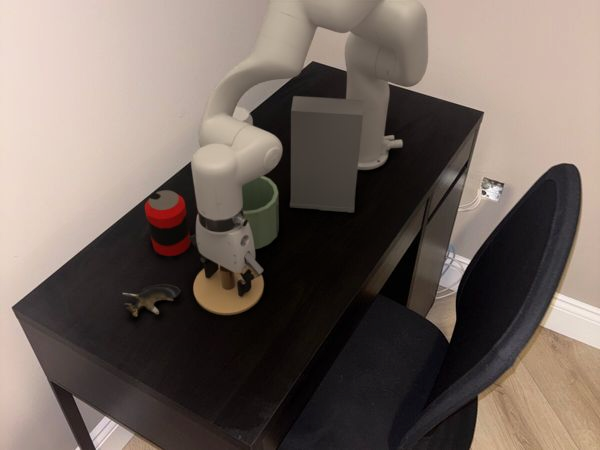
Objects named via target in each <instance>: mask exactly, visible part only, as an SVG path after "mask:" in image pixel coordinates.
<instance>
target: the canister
mask: <svg viewBox="0 0 600 450" xmlns="http://www.w3.org/2000/svg"><path fill="white" fill-rule="evenodd" d="M242 198H243V212H244V217H245V218H246V219H247V220H248V223H249V225H250V228H251V232H252V235H253V240H254V247H255V250H258V249H262V248H263V247H266V246H268V245H270V244H271V243H272V242H273V241H274V240H275V239H276V238H277V237H278V234H279V230H280V213H279V212H280V210H279V209H280V208H279V205H280V204H279V190H278V187H277V184H275V182H274V181H273V180H272V179H271V178H269V177H267V176H265V175H263V176H261V177H259V178H257V179H255V180H253V181H251V182H248V183H246V184H244V185H243V186H242Z"/></svg>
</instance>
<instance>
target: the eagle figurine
mask: <svg viewBox="0 0 600 450" xmlns="http://www.w3.org/2000/svg"><path fill="white" fill-rule="evenodd" d="M181 292H182V290H181V289H180V288H179V287H177V286H175V285H172V284H165V283H164V284H155V285H151V286H148V287H145V288H143V289H142V290H141V291H140V292H139V294H138V293H127V292H122V295H123V296H127V297H129V298H132V299H134V300H135V301H136V303H135V304H134V305H133V304H132V303H128V302H125V303H124V304H123V305H124V306H126V310H128V311H129V312H130V313H131V315H132V317H135V318H138V316H139V313H140V312H141V310H142V309H143V308H145V309H146V310H147V311H150V312H151V313H154V314H155V315H160V311H159V309H158V308H157V307H156V306H155V303H157V302H158V301H169V302H170V301H171V302H173V301H174V298H177V297H179V295H180V294H181Z"/></svg>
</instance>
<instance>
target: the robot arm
mask: <svg viewBox="0 0 600 450" xmlns="http://www.w3.org/2000/svg"><path fill="white" fill-rule="evenodd" d="M427 14H428V13H427V10H426V8H425V6H424V5H423V4H422V2H420V1H419V0H268V3H267V6H266V8H265V11H264V14H263V18H262V19H261V20H262V21H261V23H260V25H259V29H258V31H257V35H256V37H255V41H254V44H253V47H252V50H251V51H250V53H249V54H248V56H247V57H246V58H244V59H243V60H242V61H240V62H239V63H238V64H236V65H235V66H233V67H232V68H231V69H230V70H228V72H227V73H225V75H223V76H222V78H220V80H219V81H218V82H217V83H216V84H215V86H214V87H213V89H212V90H211V92H210V94H209V97H208V99H207V102H206V104H205V108H204V111H203V114H202V117H201V120H200V124H199V128H198V133H197V139H198V146H199V148H198V149H197V150H196V151H195V152H194V153H193V155H192V156H191V162H190V165H191V174H192V182H193V188H194V195H195V201H196V202H195V203H196V209H197V215H196V221H195V232H193V233H192V234H190V237H189V239H190V241H191V244H192V245H193V246H194V250H195V252H197V254H198V255H199V256H200V257H199V260H200V262H201V263H202V264H203V269H204V271H205V277H206V278H210V277H211V276H213V275H214V274H215V273H216V272H217V271H218V269H219V267H218V264H219V265H221V266H223V267H225V268H227V269H229V270H230V271H233V272H235V273H236V275H237V277H238V279H239V280H238V282H237V287H238V295H239V296H240V297H242V296H243V295H244V294H245V293H247V292H249V291H250V289H251V287H252V286H251V280H253V279H254V278H257V277H259V276H260V275H262V274H263V273H264V272H265V270H264V268H263V267H262V266H261V265H260V264H259V263H258V262H257V260H256V249H255V247H254V240H253V235H252V232H251V228H250V225H249V223H248V220H247V219H246V218H245V217H244V212H243V198H242V186H243V185H244V184H246V183H248V182H251V181H253V180H255V179H257V178H259V177H261V176H265V175H267V174H269V173H270V172H271V171H272V170H274V169H275V168H276V166H278V165H279V162H280V161H281V159H282V156H283V145H282V142H281V140H280V139H279V138H278V137H277V136H276V135H275V134H273V133H271V132H270V131H267V130H264V129H262V128H260V127H258V126H255V125H253V126H252V125H250V124H248V123H246V122H243V121H241V120H238V119H236V118H233V117H232V116H233V113H234V110H235V108H236V105H238V103H239V101H240V100H241V98H242V97H243V96H244V95H245V94H246V93H247V92H248V91H249V90H250V89H252V88H254V87H255V86H257V85H259V84H262V83H265V82H269V81H275V80H285V79H287V80H288V79H293V78H296V77H298V76H299V75H300V74H301V73H302V71H303V67H304V64H305V61H306V59H307V56H308V53H309V51H310V49H311V45H312V42H313V40H314V37H315V34H316V31H317V29H318V28H322V29H325V30H329V31H331V32H335V33H337V34H338V33H339V34H346V33H349V32H350V33H349V35H348V36H347V37H346V41H345V44H344V61H345V68H346V69H345V70H346V91H345V99H353V100H363V120H362V130H361V140H360V150H359V160H358V170H357V171H370V170H374V169H377V168H380V167H381V166H383V165H384V164H385V163H386V162H387V160H388V158H389V151H390V150H391V149H400V148H402V149H403V145H404V142H403V139H395V135H394V134H392V135H385V131H386V123H387V117H388V108H389V102H390V92H391V91H390V86H389V83H391V84H393V85H397V86H399V87H404V88H411V87H414V86H416V85H418V84H419V83H420V82H421V81H422V79H423V78H424V76H425V74H426V71H427V68H428V63H429V29H428V28H429V27H428V26H429V25H428V15H427ZM244 268H245V270H246V272H245V273H244V274H243V273H242V270H243V269H244Z"/></svg>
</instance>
